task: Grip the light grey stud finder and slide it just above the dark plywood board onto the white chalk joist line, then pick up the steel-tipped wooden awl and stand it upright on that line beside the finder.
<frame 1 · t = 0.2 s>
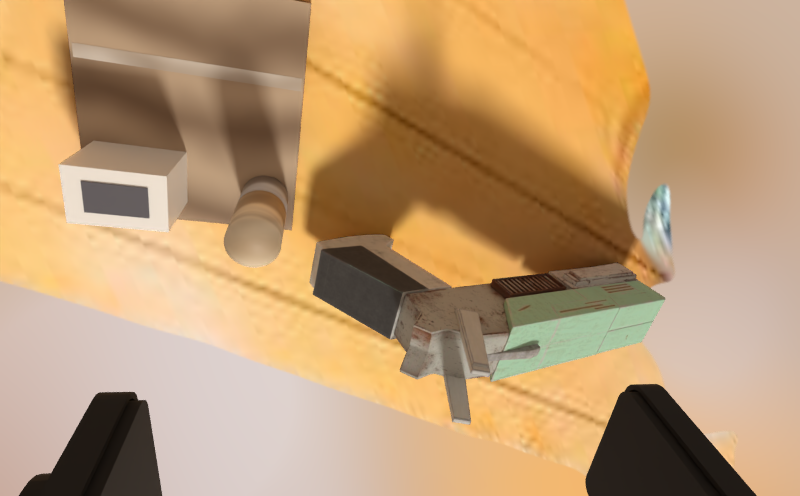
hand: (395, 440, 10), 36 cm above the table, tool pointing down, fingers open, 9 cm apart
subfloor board: (195, 110, 41), on the table
stud finder: (142, 172, 41), point 1 cm above the table, touching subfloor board
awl: (265, 197, 44), point 1 cm above the table, touching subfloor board
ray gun: (478, 266, 52), on the table
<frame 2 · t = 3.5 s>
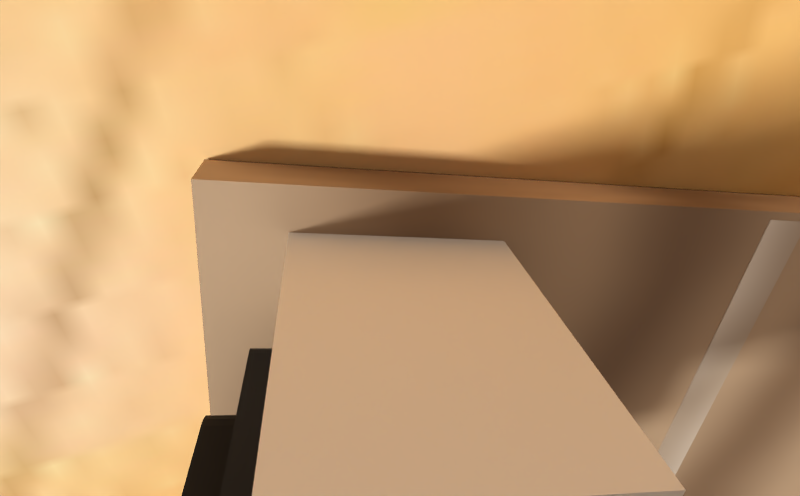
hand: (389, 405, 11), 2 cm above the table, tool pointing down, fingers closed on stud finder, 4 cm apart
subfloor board: (541, 441, 15), on the table
stud finder: (384, 369, 12), point 1 cm above the table, touching gripper, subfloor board
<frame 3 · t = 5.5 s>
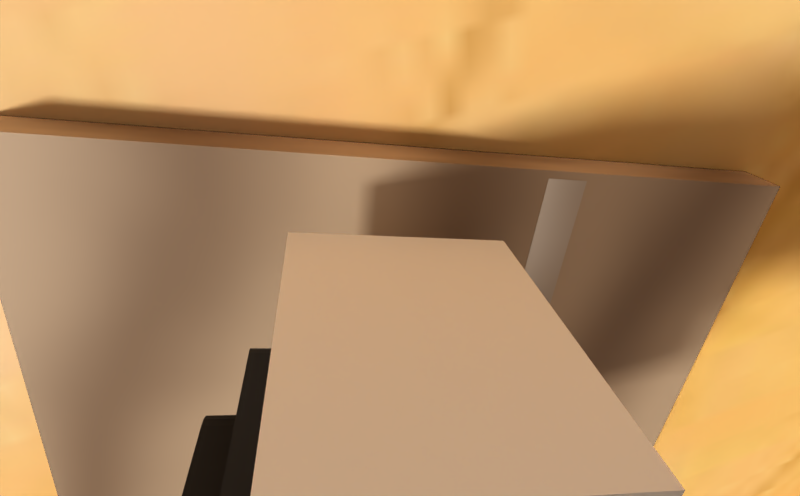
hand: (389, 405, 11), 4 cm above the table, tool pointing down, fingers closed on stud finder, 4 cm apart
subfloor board: (384, 402, 16), on the table
stud finder: (383, 369, 12), point 3 cm above the table, touching gripper
when the fingers open (3 cm above the table, at t = 7.5 s): stud finder drops 1 cm, resting on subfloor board.
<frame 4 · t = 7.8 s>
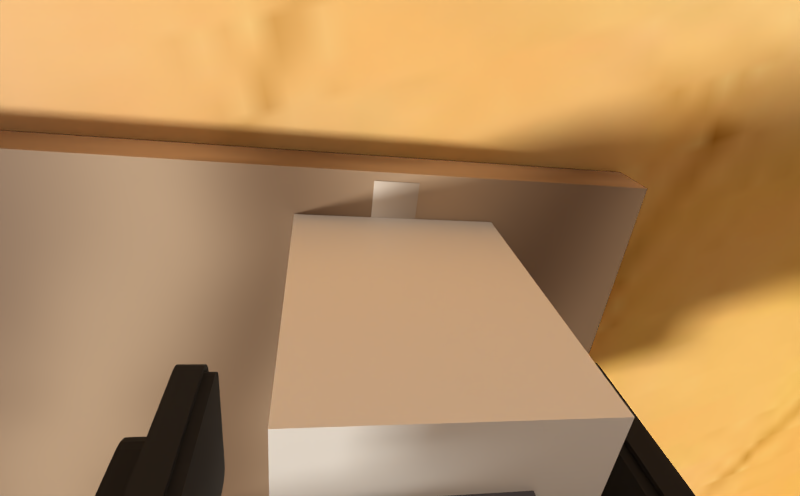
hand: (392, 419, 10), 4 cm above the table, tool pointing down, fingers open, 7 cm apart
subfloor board: (248, 422, 15), on the table
stud finder: (382, 342, 13), point 1 cm above the table, touching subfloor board
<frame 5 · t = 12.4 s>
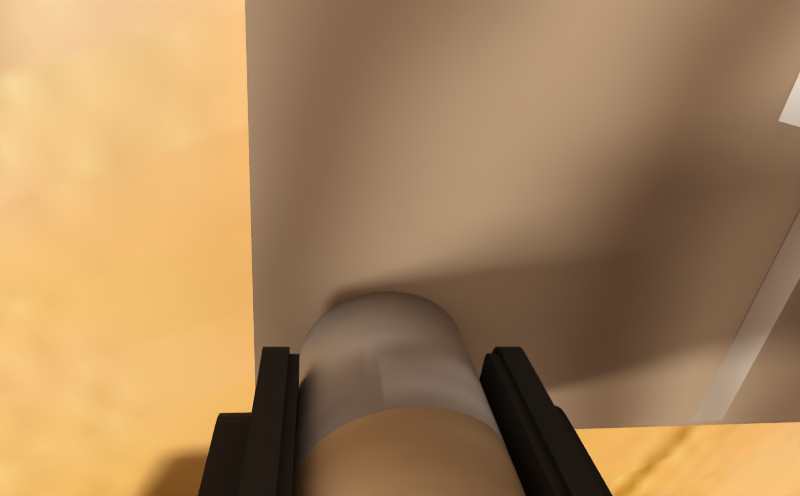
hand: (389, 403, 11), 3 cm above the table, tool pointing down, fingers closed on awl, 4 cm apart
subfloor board: (677, 123, 11), on the table
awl: (382, 361, 12), point 1 cm above the table, touching gripper, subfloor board
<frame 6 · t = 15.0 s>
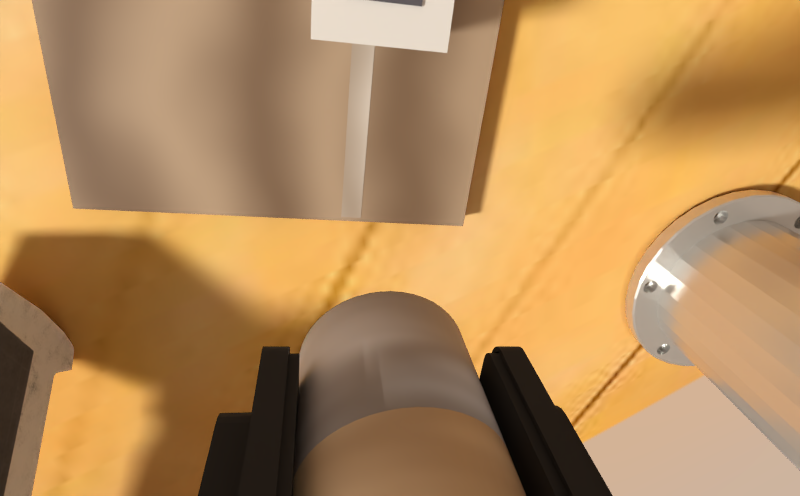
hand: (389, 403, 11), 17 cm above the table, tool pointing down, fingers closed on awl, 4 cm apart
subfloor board: (283, 32, 22), on the table
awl: (382, 361, 12), point 15 cm above the table, touching gripper
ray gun: (81, 476, 33), on the table
when the fingers open (4 cm above the table, at t = 17.6 s): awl stays where it is, resting on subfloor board.
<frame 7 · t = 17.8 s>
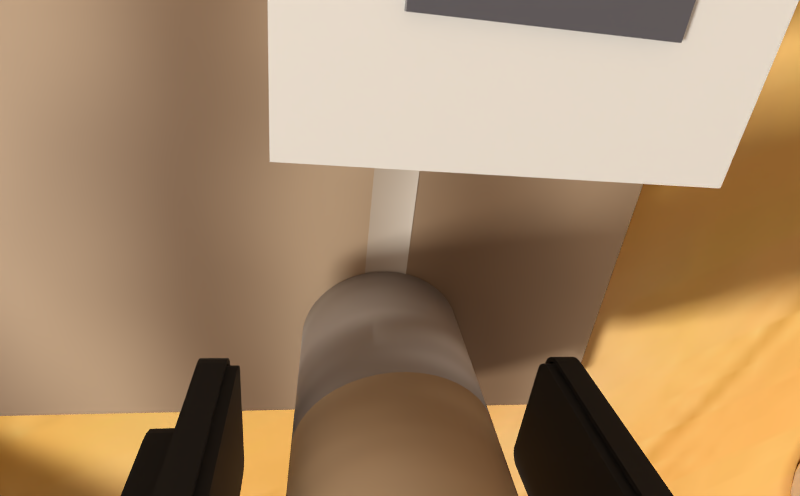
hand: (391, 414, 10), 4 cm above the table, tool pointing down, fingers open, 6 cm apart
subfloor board: (236, 75, 11), on the table
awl: (380, 337, 13), point 1 cm above the table, touching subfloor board
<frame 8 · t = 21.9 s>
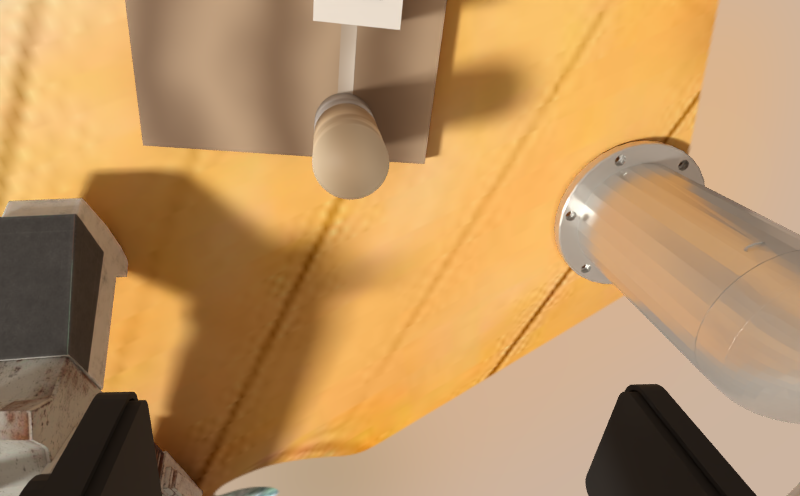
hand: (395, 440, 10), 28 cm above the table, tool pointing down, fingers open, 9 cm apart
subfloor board: (293, 19, 31), on the table
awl: (344, 123, 34), point 1 cm above the table, touching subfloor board
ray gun: (133, 371, 42), on the table
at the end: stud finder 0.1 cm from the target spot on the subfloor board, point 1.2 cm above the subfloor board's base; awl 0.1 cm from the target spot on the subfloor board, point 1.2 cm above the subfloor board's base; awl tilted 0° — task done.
